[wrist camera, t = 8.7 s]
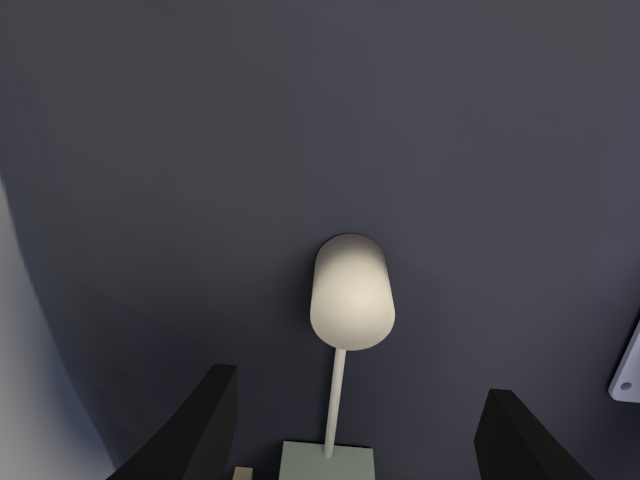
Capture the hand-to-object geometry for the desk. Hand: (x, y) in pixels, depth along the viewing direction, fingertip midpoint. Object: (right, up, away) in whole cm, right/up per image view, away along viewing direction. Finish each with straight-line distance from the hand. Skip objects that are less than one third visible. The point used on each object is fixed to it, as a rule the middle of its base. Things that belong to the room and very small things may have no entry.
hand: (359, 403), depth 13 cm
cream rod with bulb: (0, -3, +11) cm, 12 cm away
